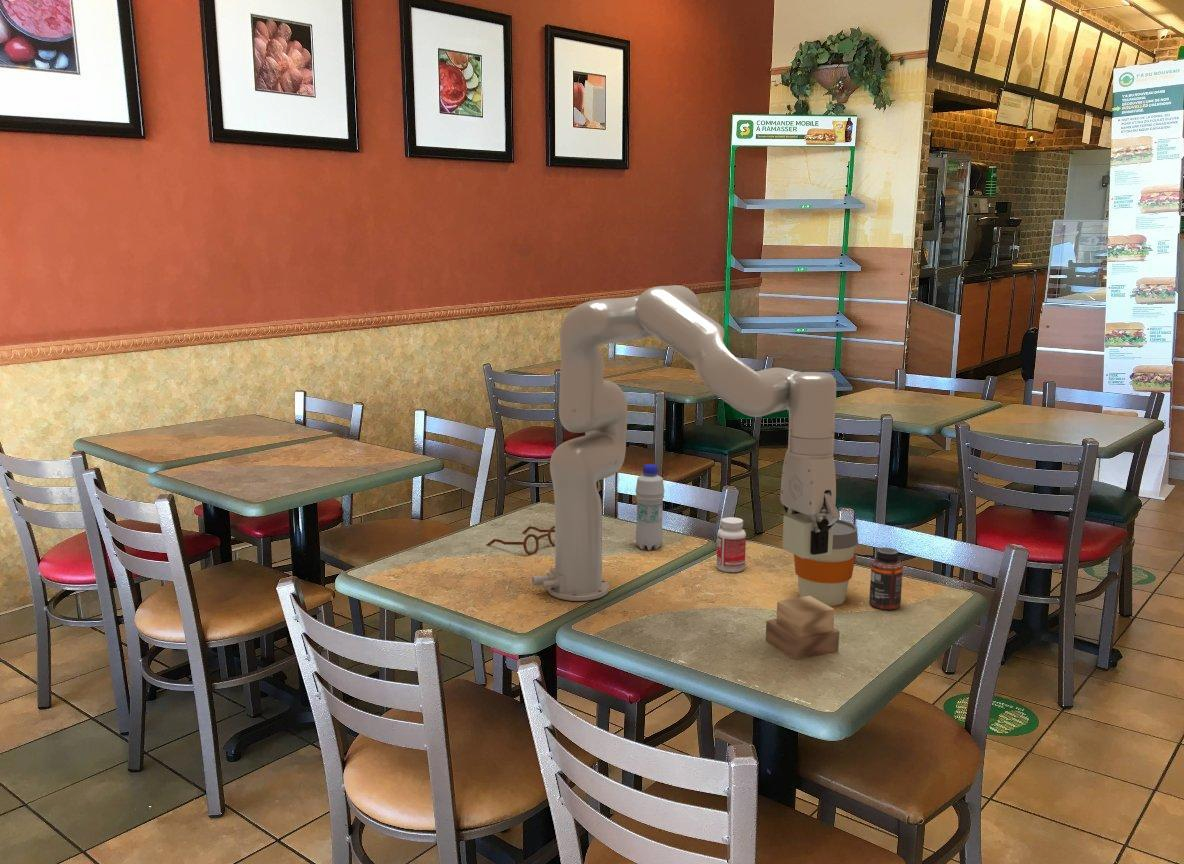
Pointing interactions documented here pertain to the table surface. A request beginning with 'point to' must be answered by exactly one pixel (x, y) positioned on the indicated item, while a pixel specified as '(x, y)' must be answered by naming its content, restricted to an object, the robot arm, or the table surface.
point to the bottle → (649, 508)
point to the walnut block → (801, 641)
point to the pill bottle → (731, 545)
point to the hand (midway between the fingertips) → (807, 546)
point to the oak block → (805, 616)
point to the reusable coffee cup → (829, 567)
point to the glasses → (527, 539)
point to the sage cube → (801, 535)
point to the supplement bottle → (886, 579)
